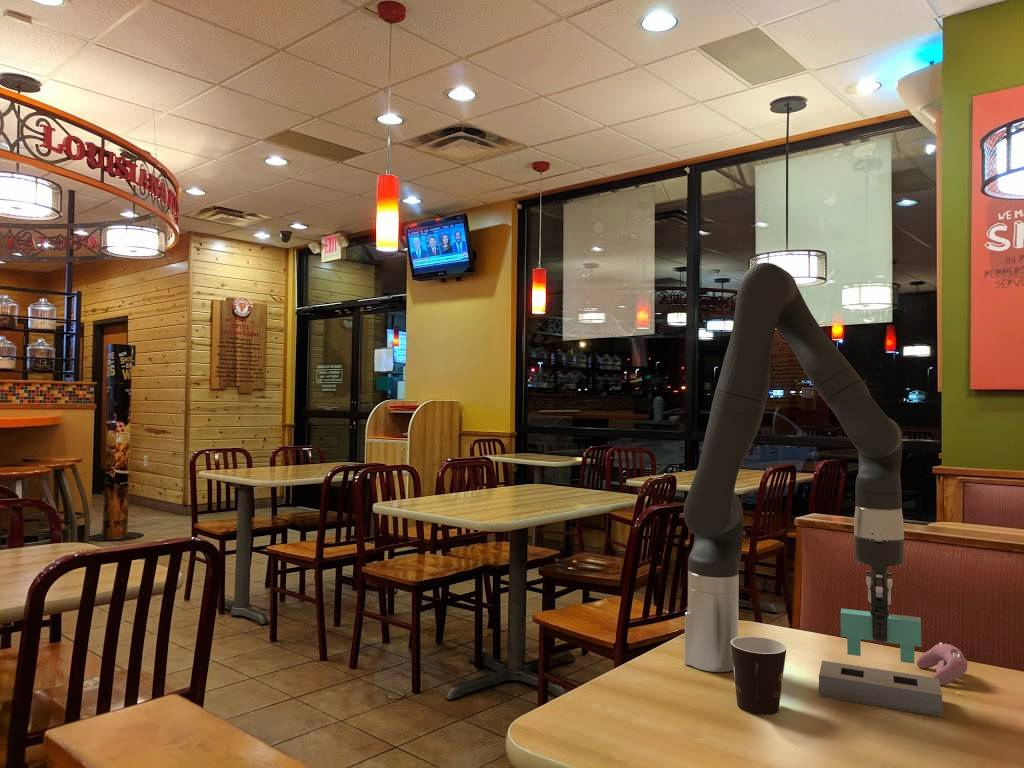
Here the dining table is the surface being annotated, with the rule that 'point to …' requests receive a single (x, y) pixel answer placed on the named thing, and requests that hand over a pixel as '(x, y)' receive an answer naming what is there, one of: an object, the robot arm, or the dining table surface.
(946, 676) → the video game controller
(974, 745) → the dining table surface
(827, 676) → the slotted rail
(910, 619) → the two prong clip
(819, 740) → the dining table surface
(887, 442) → the robot arm
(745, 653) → the coffee mug
